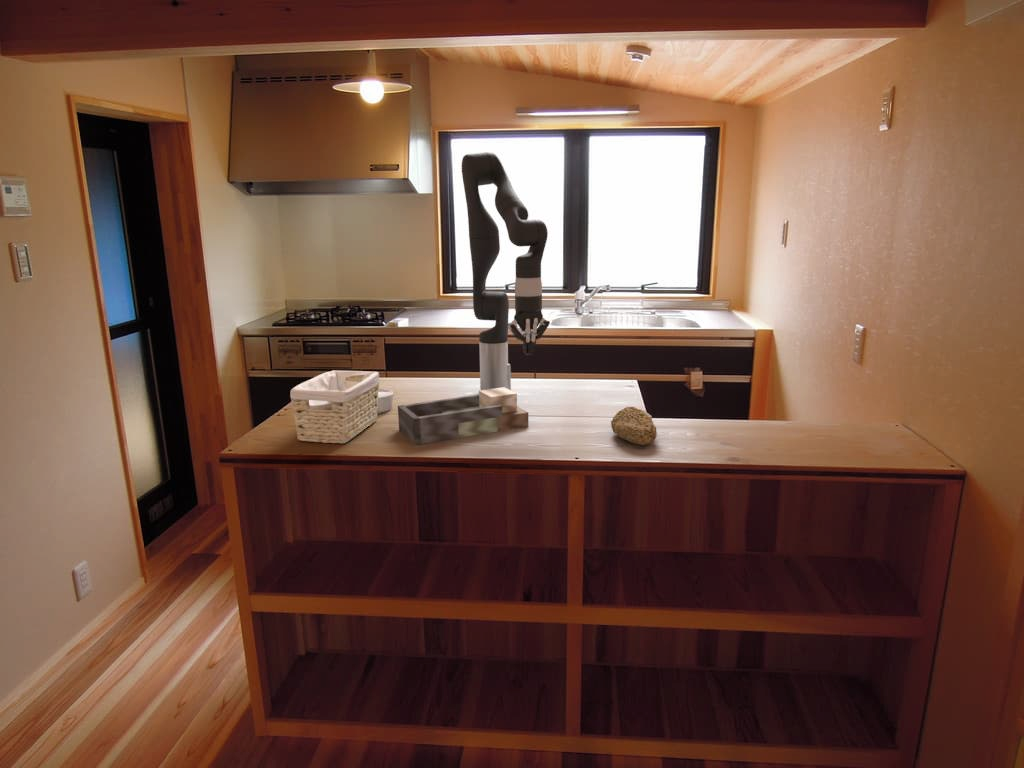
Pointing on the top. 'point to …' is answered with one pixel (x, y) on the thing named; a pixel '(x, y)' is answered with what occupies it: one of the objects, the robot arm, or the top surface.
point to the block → (498, 399)
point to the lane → (455, 419)
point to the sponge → (634, 426)
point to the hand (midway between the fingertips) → (528, 354)
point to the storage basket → (335, 406)
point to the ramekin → (384, 400)
